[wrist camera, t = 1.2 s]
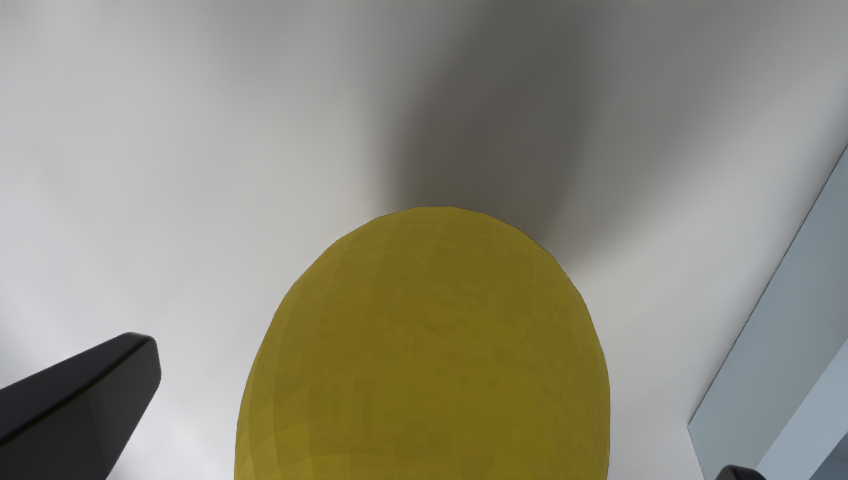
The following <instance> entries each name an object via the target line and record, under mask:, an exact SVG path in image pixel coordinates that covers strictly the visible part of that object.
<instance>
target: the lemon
mask: <svg viewBox="0 0 848 480" xmlns="http://www.w3.org/2000/svg"><path fill="white" fill-rule="evenodd" d="M609 450H610V387H609V378H608V371H607V366H606V362H605V358H604V354H603V351H602V348H601V345H600V343H599V340H598V337H597V334H596V331H595V328H594V326H593V323H592V320H591V317H590V314H589V312H588V309H587V306H586V304H585V302H584V300H583V298H582V296H581V294H580V293H579V292H578V290H577V289H576V287H575V286H574V285H573V283H572V282H571V281H570V279H569V278H568V276H567V275H566V274H565V272H564V271H563V270H562V268H561V267H560V265H559V264H558V263H557V261H556V260H555V259H554V257H553V256H552V255H551V254H549V253H548V252H547V251H546V250H545V249H543V248H542V247H541V246H540V245H538V244H537V243H536V242H535V241H533V240H532V239H531V238H530V237H528V236H527V235H526V234H525V233H523V232H522V231H521V230H520V229H518V228H516V227H514V226H512V225H509V224H507V223H505V222H503V221H501V220H499V219H497V218H494V217H492V216H490V215H488V214H484V213H480V212H475V211H471V210H466V209H461V208H457V207H452V206H449V207H415V208H411V209H407V210H403V211H400V212H396V213H392V214H388V215H384V216H381V217H378V218H375V219H373V220H372V221H370V222H368V223H366V224H365V225H363V226H361V227H359V228H358V229H356V230H354V231H352V232H350V233H349V234H347V235H345V236H344V237H342V238H340V239H339V240H337V241H336V242H335V243H333V244H332V245H331V246H330V247H329V248H328V249H327V250H326V251H325V252H324V253H323V254H322V255H321V256H320V257H319V258H318V259H317V260H316V261H315V262H314V263H313V264H312V265H311V266H310V267H309V268H308V269H307V270H306V271H305V272H304V273H303V275H302V276H301V277H300V278H299V279H298V280H297V281H296V282H295V283H294V285H293V286H292V287H291V289H290V290H289V291H288V293H287V294H286V296H285V297H284V299H283V300H282V302H281V304H280V306H279V307H278V309H277V311H276V313H275V315H274V317H273V319H272V322H271V324H270V326H269V328H268V331H267V333H266V335H265V337H264V339H263V342H262V344H261V346H260V348H259V351H258V353H257V355H256V357H255V360H254V362H253V365H252V368H251V371H250V374H249V376H248V379H247V383H246V387H245V390H244V394H243V397H242V401H241V407H240V412H239V417H238V422H237V433H236V447H235V466H234V480H607V473H608V466H609Z"/></svg>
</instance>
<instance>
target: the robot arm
mask: <svg viewBox="0 0 848 480" xmlns="http://www.w3.org/2000/svg"><path fill="white" fill-rule="evenodd" d="M160 381H161V367H160V361H159V355H158V349H157V343H156V341H155V339H154V338H153V337H151V336H148V335H143V334H139V333H134V332H127V333H124V334H121V335H119V336H117V337H115V338H113V339H110V340H108V341H106V342H104V343H102V344H99V345H97V346H95V347H93V348H91V349H88V350H86V351H84V352H82V353H79V354H77V355H75V356H73V357H71V358H68V359H66V360H64V361H62V362H60V363H57V364H55V365H53V366H51V367H49V368H46V369H44V370H42V371H40V372H38V373H35V374H33V375H31V376H29V377H27V378H24V379H22V380H20V381H18V382H16V383H13V384H11V385H9V386H7V387H5V388H2V389H0V480H106V478H107V477H108V475H109V474H110V472H111V470H112V469H113V467H114V465H115V464H116V462H117V460H118V459H119V457H120V455H121V453H122V452H123V450H124V448H125V446H126V444H127V443H128V441H129V439H130V437H131V435H132V434H133V432H134V430H135V428H136V426H137V425H138V423H139V421H140V419H141V417H142V416H143V414H144V412H145V410H146V409H147V407H148V405H149V403H150V401H151V400H152V398H153V396H154V394H155V392H156V391H157V389H158V387H159V384H160ZM715 480H767V479H766V478H765V477H764V476H763V475H762V474H760V473H759V472H758V471H756V470H754V469H751V468H746V467H742V466H737V465H733V464H728V465H726V466H724V467H723V468H722V469H721V471H720V472H719V474H718V475H717V477H716V478H715Z"/></svg>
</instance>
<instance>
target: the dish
mask: <svg viewBox="0 0 848 480" xmlns="http://www.w3.org/2000/svg"><path fill="white" fill-rule="evenodd" d="M687 428H688V431H689V434H690V437H691V440H692V443H693V446H694V449H695V452H696V455H697V458H698V461H699V464H700V467H701V470H702V473H703V476H704V479H705V480H715V478H716V477H717V475H718V474H719V472H720V471H721V469H722V468H723V467H724V466H726V465H728V464H733V465H737V466H742V467H746V468H751V469H754V470H756V471H758V472H759V473H760V474H762V475H763V476H764V477H765V478H766V479H767V480H848V146H847V147H846V149H845V151H844V153H843V154H842V156H841V158H840V160H839V161H838V163H837V165H836V167H835V169H834V170H833V172H832V174H831V176H830V177H829V179H828V181H827V183H826V184H825V186H824V188H823V190H822V191H821V193H820V195H819V197H818V198H817V200H816V202H815V204H814V205H813V207H812V209H811V211H810V212H809V214H808V216H807V218H806V219H805V221H804V223H803V225H802V227H801V228H800V230H799V232H798V234H797V235H796V237H795V239H794V241H793V242H792V244H791V246H790V248H789V249H788V251H787V253H786V255H785V256H784V258H783V260H782V262H781V263H780V265H779V267H778V269H777V270H776V272H775V274H774V276H773V277H772V279H771V281H770V283H769V285H768V286H767V288H766V290H765V292H764V293H763V295H762V297H761V299H760V300H759V302H758V304H757V306H756V307H755V309H754V311H753V313H752V314H751V316H750V318H749V320H748V321H747V323H746V325H745V327H744V328H743V330H742V332H741V334H740V335H739V337H738V339H737V341H736V343H735V344H734V346H733V348H732V350H731V351H730V353H729V355H728V357H727V358H726V360H725V362H724V364H723V365H722V367H721V369H720V371H719V372H718V374H717V376H716V378H715V379H714V381H713V383H712V385H711V386H710V388H709V390H708V392H707V393H706V395H705V397H704V399H703V401H702V402H701V404H700V406H699V408H698V409H697V411H696V413H695V415H694V416H693V418H692V420H691V422H690V423H689V425H688V427H687Z"/></svg>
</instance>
